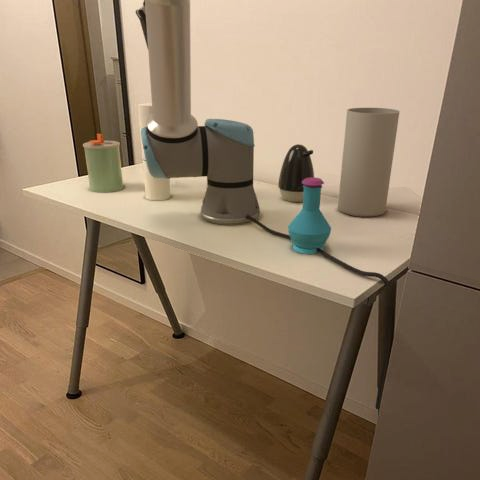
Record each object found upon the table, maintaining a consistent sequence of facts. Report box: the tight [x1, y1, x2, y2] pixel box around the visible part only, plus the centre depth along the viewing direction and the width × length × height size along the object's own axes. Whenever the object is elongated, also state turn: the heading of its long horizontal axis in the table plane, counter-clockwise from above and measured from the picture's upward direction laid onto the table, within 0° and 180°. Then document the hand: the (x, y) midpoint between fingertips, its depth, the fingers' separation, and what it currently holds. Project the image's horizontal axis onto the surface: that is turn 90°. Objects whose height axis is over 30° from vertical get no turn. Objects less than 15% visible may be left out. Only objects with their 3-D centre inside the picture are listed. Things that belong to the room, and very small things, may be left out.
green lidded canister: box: [82, 140, 124, 193], centre depth 153 cm, size 11×11×13 cm
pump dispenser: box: [278, 143, 315, 203], centre depth 141 cm, size 10×10×15 cm
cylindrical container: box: [137, 102, 171, 201], centre depth 141 cm, size 7×7×25 cm
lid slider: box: [88, 133, 105, 144], centre depth 148 cm, size 4×3×2 cm
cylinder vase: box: [337, 107, 401, 218], centre depth 129 cm, size 12×12×25 cm
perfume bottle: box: [287, 176, 332, 255], centre depth 107 cm, size 9×9×15 cm
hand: (163, 79), depth 142 cm, fingers closed
